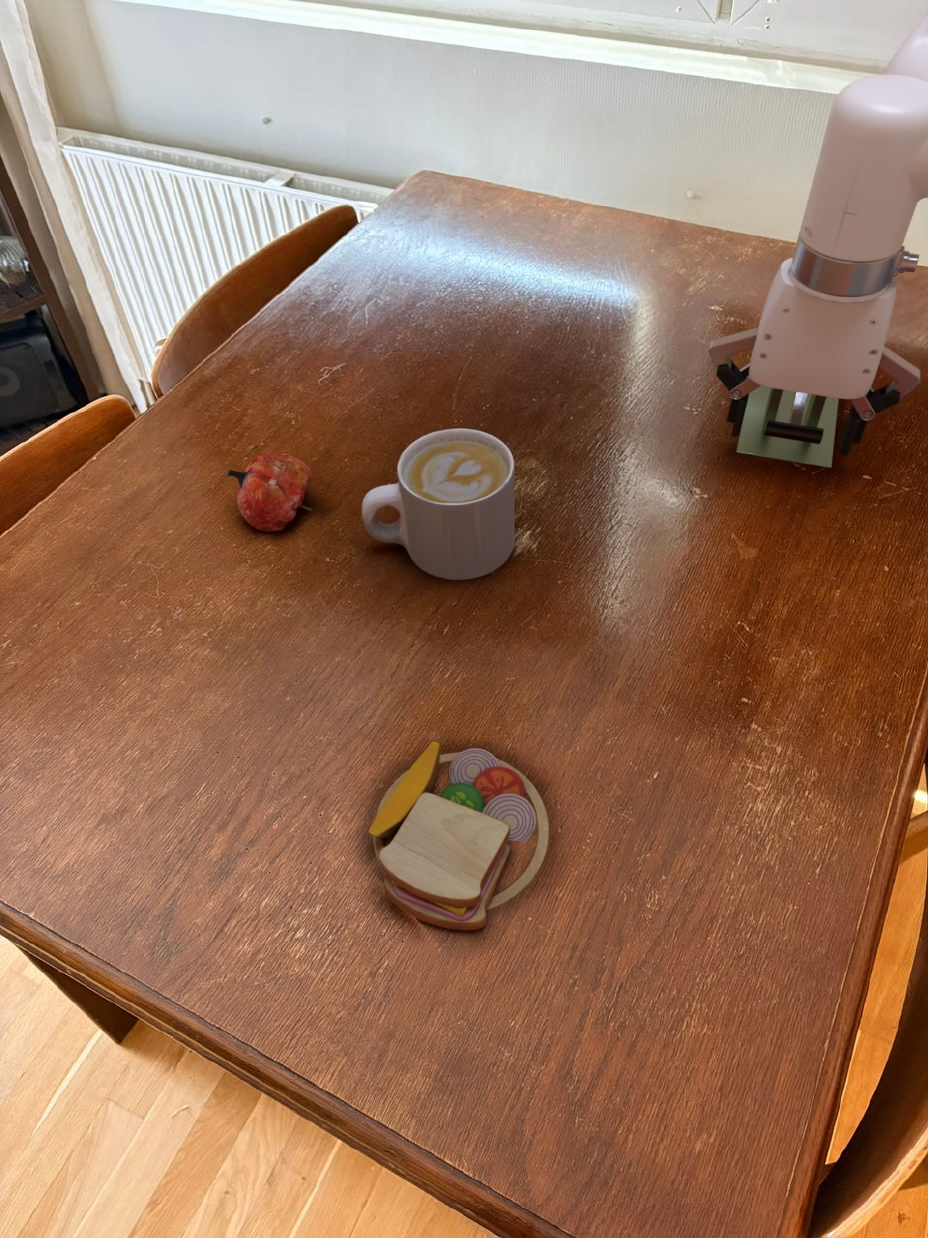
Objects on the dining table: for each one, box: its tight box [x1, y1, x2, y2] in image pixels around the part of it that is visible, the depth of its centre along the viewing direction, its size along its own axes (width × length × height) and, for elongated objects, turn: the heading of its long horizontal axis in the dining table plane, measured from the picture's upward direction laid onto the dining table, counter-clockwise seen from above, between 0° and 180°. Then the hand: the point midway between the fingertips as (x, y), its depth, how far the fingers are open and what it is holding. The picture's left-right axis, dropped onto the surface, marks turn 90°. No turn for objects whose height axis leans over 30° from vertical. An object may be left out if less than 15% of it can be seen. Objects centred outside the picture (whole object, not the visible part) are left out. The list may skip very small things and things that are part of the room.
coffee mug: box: [361, 427, 516, 581], centre depth 80 cm, size 13×10×10 cm
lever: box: [764, 392, 824, 444], centre depth 83 cm, size 11×5×2 cm, turn 162°
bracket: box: [735, 385, 840, 469], centre depth 87 cm, size 12×9×12 cm
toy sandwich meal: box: [368, 740, 550, 931], centre depth 63 cm, size 12×14×5 cm
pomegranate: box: [224, 453, 313, 533], centre depth 84 cm, size 7×7×10 cm
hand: (789, 436), depth 83 cm, fingers open, 9 cm apart
